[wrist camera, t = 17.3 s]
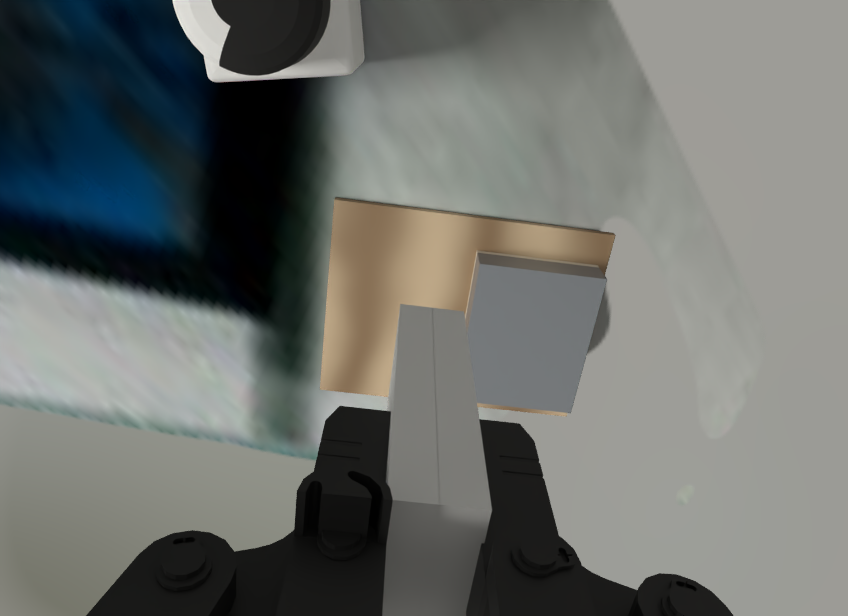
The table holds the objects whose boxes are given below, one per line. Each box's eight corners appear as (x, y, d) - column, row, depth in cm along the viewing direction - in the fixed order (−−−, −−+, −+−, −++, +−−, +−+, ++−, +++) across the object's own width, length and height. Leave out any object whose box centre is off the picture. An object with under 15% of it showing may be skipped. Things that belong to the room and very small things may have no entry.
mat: (321, 385, 47) (320, 389, 46) (335, 197, 41) (334, 199, 40) (565, 412, 48) (566, 416, 47) (613, 233, 42) (615, 235, 41)
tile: (455, 400, 44) (570, 413, 44) (479, 263, 40) (607, 279, 40) (453, 381, 46) (563, 394, 46) (476, 250, 42) (597, 265, 42)
